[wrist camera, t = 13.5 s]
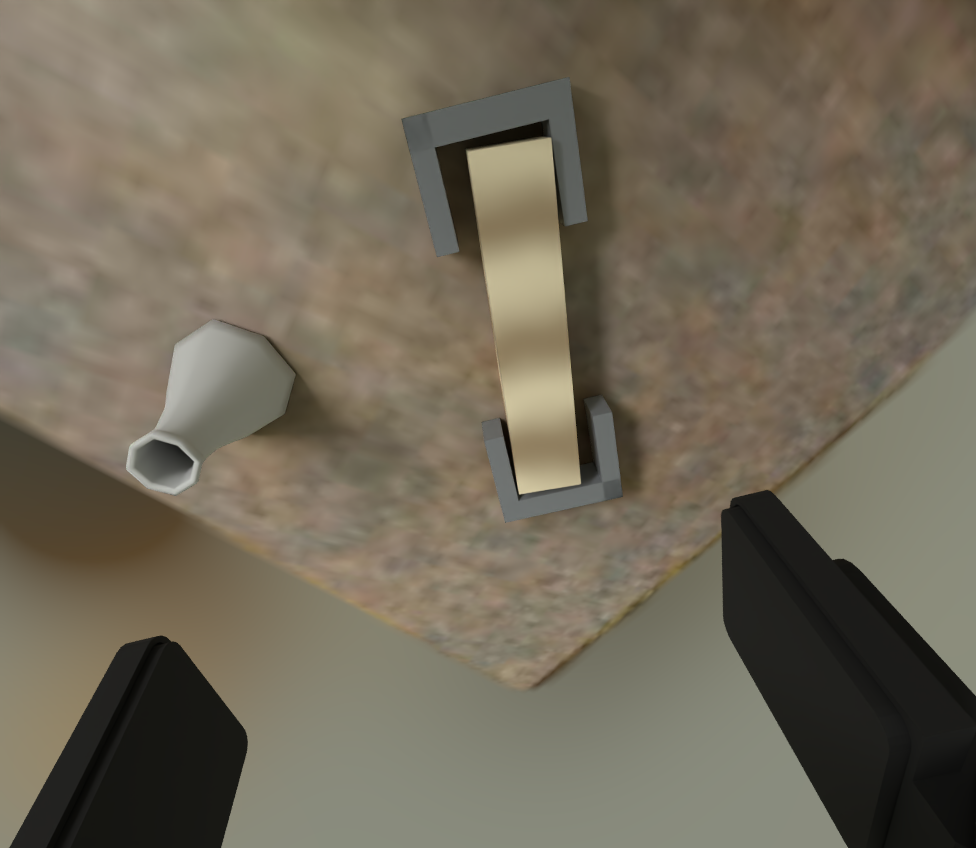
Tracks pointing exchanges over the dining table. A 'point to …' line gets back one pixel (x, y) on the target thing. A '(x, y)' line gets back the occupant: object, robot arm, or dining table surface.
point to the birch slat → (527, 306)
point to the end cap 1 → (489, 117)
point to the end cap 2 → (595, 487)
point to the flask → (210, 403)
